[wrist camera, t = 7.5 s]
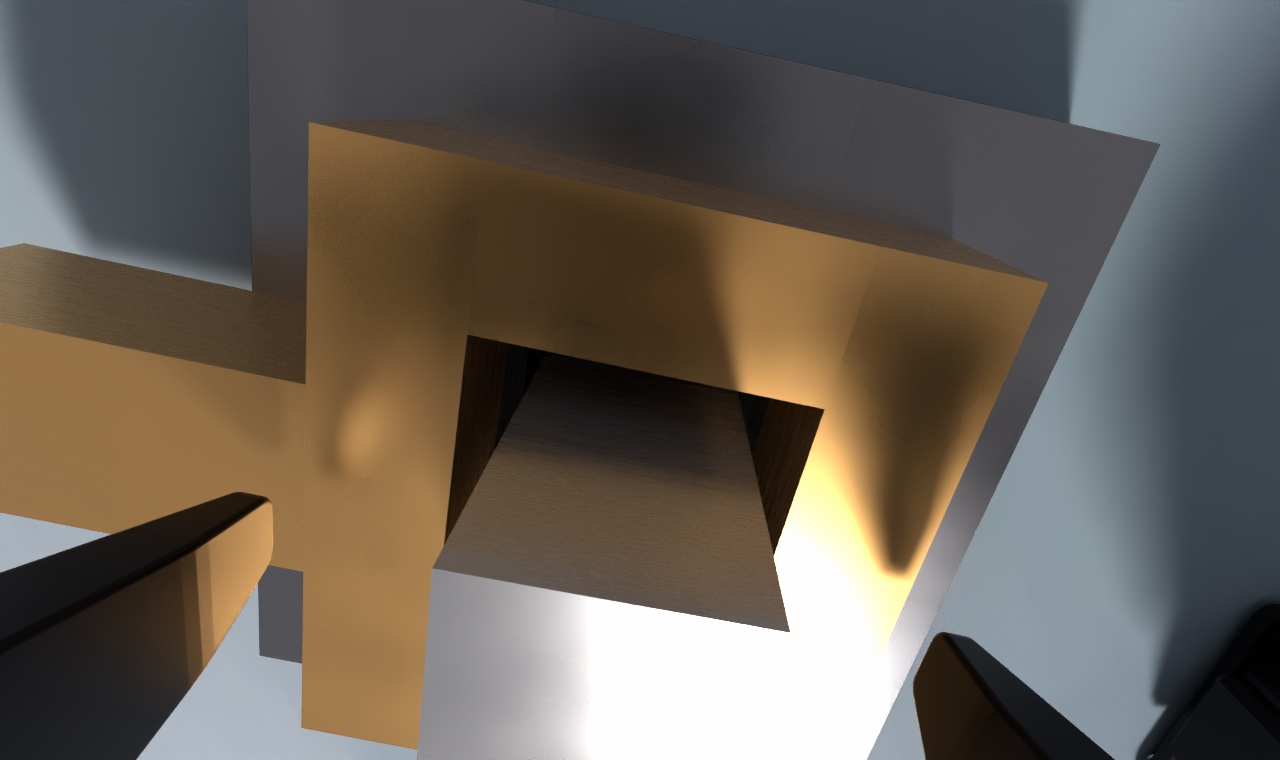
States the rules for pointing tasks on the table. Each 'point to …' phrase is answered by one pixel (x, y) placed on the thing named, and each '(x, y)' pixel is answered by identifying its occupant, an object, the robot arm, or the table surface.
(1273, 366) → the table surface
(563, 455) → the grey rectangular block
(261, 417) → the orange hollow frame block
